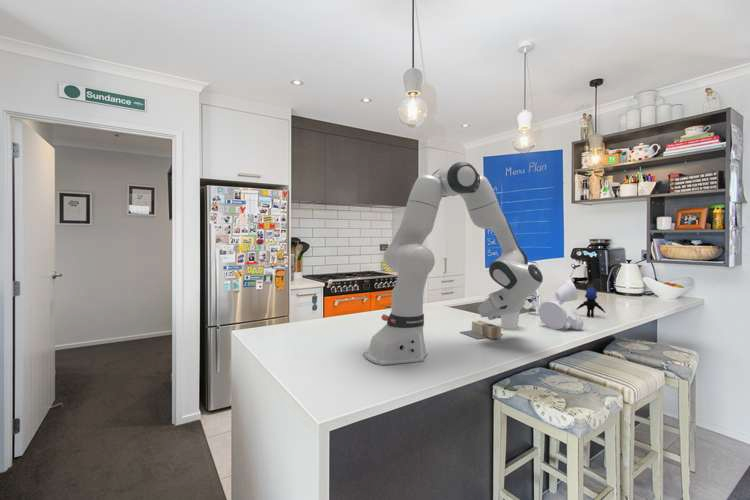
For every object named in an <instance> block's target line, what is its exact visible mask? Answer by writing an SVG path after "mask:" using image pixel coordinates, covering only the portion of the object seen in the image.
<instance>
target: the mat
mask: <svg viewBox="0 0 750 500" xmlns="http://www.w3.org/2000/svg"><path fill="white" fill-rule="evenodd" d="M459 334H461V335H462V334H463V335H466V336H468V337H470V338H473V339H476V340H482V339H487V338H488V337H485V336H482V335H479V334H476V333H473V332H472V329H470V330H463V331H459ZM503 335H504V334H503V333H501V336H503ZM488 339H489V338H488Z"/></svg>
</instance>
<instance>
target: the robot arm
mask: <svg viewBox="0 0 750 500" xmlns="http://www.w3.org/2000/svg"><path fill="white" fill-rule="evenodd" d="M455 196H460V197H461V198H462V199H463V201H464V204H465V207H466V209H467V212H468V215H469V218H470V220H471V222H472V223H473V225H474V226H476V227H478V228H480V229H486V230H491V232H492V233H493V234H494V235H495V238H496V239H497V241H498V244H499V246H500V248H501V254H500V256H499V257H497V258H496V259H495V260H494V261H493V262H492V263H491V264H490V265H489V267H488V272H489V273H488V274H489V276H490V278H491V279H492V280H493V281H494V282H495V283H497V284H498V285H499V286H501V287H502V288H501V289H499V290H496V291H493V292H491V293H490V294H488V298H486V299H485V300H484V301H483V302H482V303H481V304H480V305H479V307H478V308H477V312H478V313H479V315H480V317H481V318H487V319H488V320H489V321H491V320H495V319H497V318H498V317H501V315H504V314H511V313H516V312H518V311H519V310H520V311H521V310H522V308H523V307H524V306H525V305H526V303H525V302H526V301H527V300H528V298H530V297H532V295H533V294H535V293H536V291H538V289H539V288H540V287H541V285H542V283H543V281H544V278H543V274H542V271H541V270H540V269H539V268H538V267H537V266H535V265H534V264H529V259H528V256H527V254H526V253H525V252H524V250H523V249H522V248H521V247H520V245H519V243H518V241H517V239H516V237H515V235H514V233H513V230H512V228H511V225H510V223H509V221H508V219H507V218H506V216H505V214H504V213H503V211H502V209H501V207H500V204H499V201H498V199H497V196H496V194H495V190H494V189H493V187H492V185H491V183H490V181H489V179H488V178H487V177H486V176H484V175H480V174H479V173H478V171H477V169H476V168H475V167H474V166H473V164H470V163H468V162H466V161H460V162H455V163H452V164H448V165H445V166H444V167H442V168H439V169H437V170H436V171H435V172H434V173H432V174H422V175H420V176H418V177H417V179H416V180H415V181H414V184H413V186H412V188H411V191H410V194H409V196H408V200H407V201H406V202H407V203H406V206H405V209H404V212H403V217H402V219H401V222H400V225H399V227H398V229H397V231H396V233H395V235H394V238H393V239H392V241H391V243H390V244H389V246H388V247H386V249H385V252H384V254H383V260H384V263H385V264H386V266H387V267H388V268H389V269H390V270H392V271H393V272H396V273H397V276H396V277H397V278H396V282H395V285H394V287H393V289H392V290H391V303H390V304H391V305H390V306H391V309H390V310H391V312H390V314H389V315H387V314H382V315H381V320H382V321H384V322H386V324H385V325H384V326H383V327H382V328H381V329H380V330H378V331H377V332H376V333H375V334H373V336H372V337H371V339H370V342H369V348H368V349H365V350H363V354H362V355H363V357H364V358H365V359H366V360H368V361H369V362H372V363H374V364H376V365H381V366H387V365H396V364H397V365H398V364H407V363H417V362H423V361H424V360H425V357H426V356H427V355H428V352H427V349H426V344H425V339H424V338H425V337H424V326H425V325H424V324H425V314H424V291H425V287H426V282H427V279H428V276H429V274H430V272H432V270H433V268H434V266H435V263H436V262H435V261H436V259H435V255H434V253H433V251H432V250H431V249H429V248H428V247H426V246H425V245H423V243H424V242H425V240H426V239H427V237H429V235H431V233H432V231H433V229H434V225H435V221H436V218H437V215H438V212H439V207H440V202H441V200H442V198H446V197H455Z"/></svg>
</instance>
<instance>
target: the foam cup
mask: <svg viewBox="0 0 750 500" xmlns="http://www.w3.org/2000/svg"><path fill="white" fill-rule="evenodd" d="M520 312H521V309H520V310H519V311H518V312H516V313H511V314H504V315H500V319H501V329H504V330H505V329H506V330H518V325H519V324H518V323H519V319H520Z"/></svg>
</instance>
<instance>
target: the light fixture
mask: <svg viewBox="0 0 750 500" xmlns="http://www.w3.org/2000/svg"><path fill="white" fill-rule="evenodd" d="M554 296H555V300H556V301H554V300H549V301H544V302H542V303H541V304H540V305H539V308H538V317H539V319H540V320H541V322H542V323H543V324H544V325H545V326H546V327H548V328H550V329H553V330H560V329H562V328H564V329H565V330H569V329H572V330H574V331H577V330H578V331H579V330H581V329H582V328H583V326H584V321H583V320H584V319H582V317H581V316H579V313H578V312H577V311H573V312H572V313H570V314H569V315H568V314H567V311H566V309H565V308H564V307H563V306H562V305H563V304H564V303H567V302H572V301H576V300H577V299H578V290H577V287H576V286H575V284H574V282H573V281H572V280H571V279H568V280H567V281H566V282H564V283H563V284H562V285H561V286H560V287H559V288H558V289H556V291H555V293H554Z"/></svg>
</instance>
